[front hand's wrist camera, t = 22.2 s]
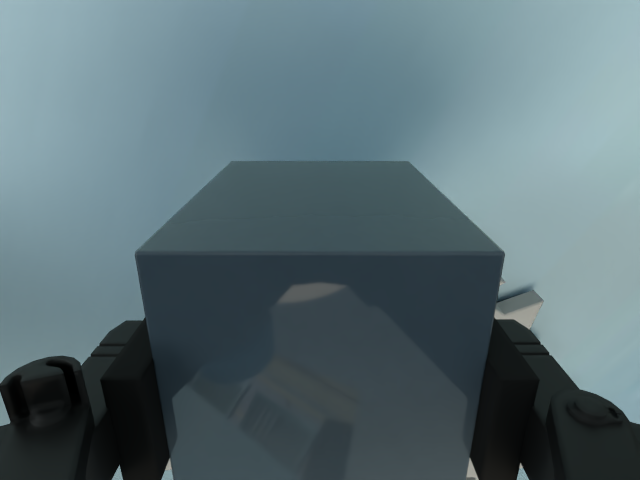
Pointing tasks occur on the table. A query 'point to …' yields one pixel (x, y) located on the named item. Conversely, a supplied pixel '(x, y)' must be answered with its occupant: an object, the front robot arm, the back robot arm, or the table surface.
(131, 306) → the table surface
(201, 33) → the table surface
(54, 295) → the table surface
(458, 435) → the grey rectangular block
